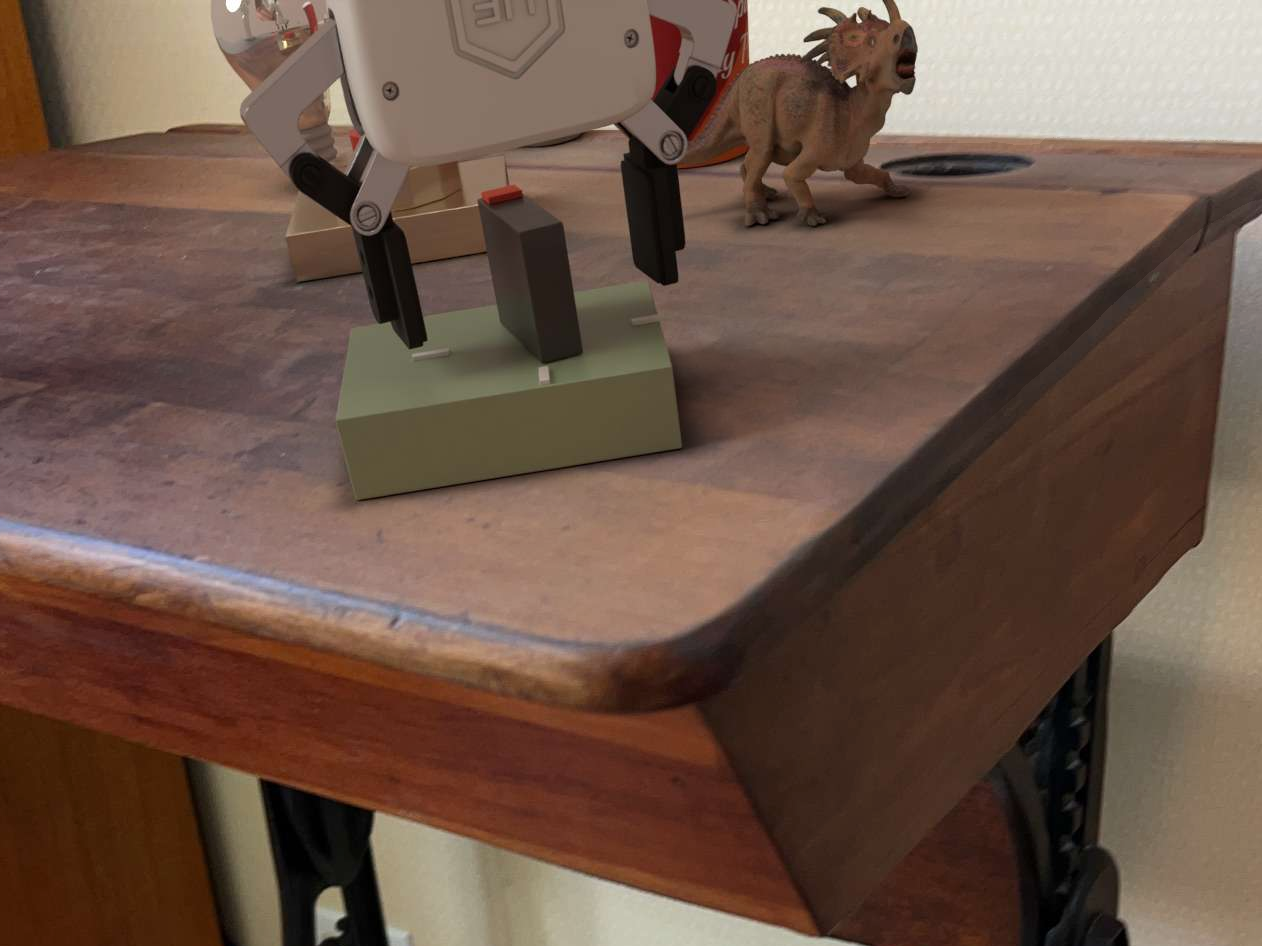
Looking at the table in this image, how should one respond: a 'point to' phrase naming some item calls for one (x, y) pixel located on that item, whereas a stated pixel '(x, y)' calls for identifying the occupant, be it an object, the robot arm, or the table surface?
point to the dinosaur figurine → (813, 110)
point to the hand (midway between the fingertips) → (535, 306)
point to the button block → (400, 218)
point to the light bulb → (274, 51)
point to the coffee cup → (734, 61)
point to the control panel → (505, 397)
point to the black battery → (530, 273)
